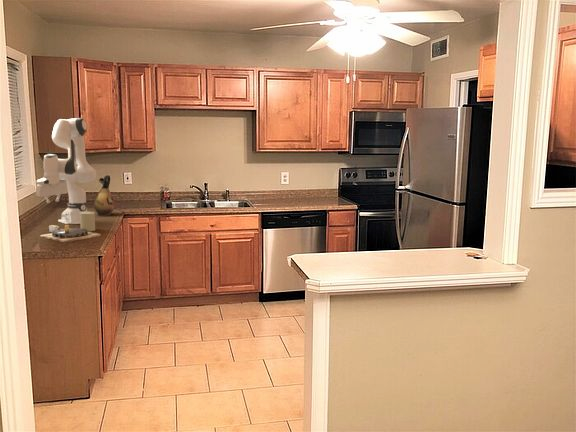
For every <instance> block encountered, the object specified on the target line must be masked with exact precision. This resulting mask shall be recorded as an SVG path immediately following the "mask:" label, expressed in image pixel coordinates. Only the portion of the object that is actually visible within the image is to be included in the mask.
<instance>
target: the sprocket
mask: <svg viewBox="0 0 576 432" xmlns="http://www.w3.org/2000/svg"><path fill="white" fill-rule="evenodd" d="M88 232H89V231H88V230H86V229H81V227H78V228H77V227H71V228H70V224H65V225H64V228H60V230H55V231H53V232H51V233H52V236H54V237H65V238H67V237H81V236H85V234H88Z"/></svg>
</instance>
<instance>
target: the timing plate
mask: <svg viewBox="0 0 576 432" xmlns="http://www.w3.org/2000/svg"><path fill="white" fill-rule="evenodd" d="M60 229H61V227H60V226H59V227H58V228H57V230H60ZM38 236H39V238H43V239H47V240H52V241H56V242H61V243H70V242H75V241H80V240H86V239H91V238H96V237H101V233H97V232H93V231H88V234H85V236H81V237H67V238H65V237H54V236H52V232H49V233H45V234H39V235H38Z"/></svg>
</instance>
